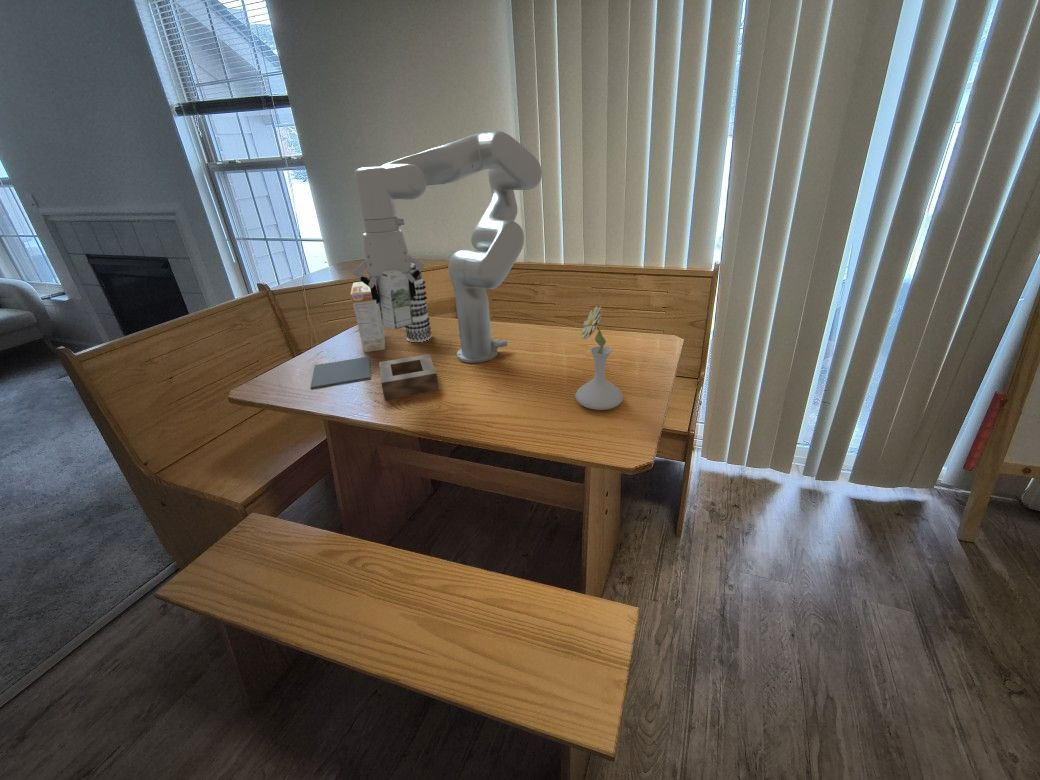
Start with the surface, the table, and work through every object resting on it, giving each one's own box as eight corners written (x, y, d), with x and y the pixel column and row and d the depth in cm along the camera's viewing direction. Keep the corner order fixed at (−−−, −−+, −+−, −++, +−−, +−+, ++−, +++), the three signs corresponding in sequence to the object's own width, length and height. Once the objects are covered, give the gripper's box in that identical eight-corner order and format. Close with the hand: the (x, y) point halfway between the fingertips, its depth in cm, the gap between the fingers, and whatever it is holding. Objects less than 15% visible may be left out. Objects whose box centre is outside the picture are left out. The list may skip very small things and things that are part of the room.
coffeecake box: (364, 337, 158) (352, 282, 149) (385, 334, 160) (374, 280, 151) (362, 352, 146) (349, 293, 137) (385, 349, 147) (373, 290, 138)
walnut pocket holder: (431, 369, 131) (429, 354, 129) (439, 390, 119) (436, 373, 117) (382, 378, 127) (378, 362, 125) (384, 400, 116) (381, 382, 113)
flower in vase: (581, 389, 116) (583, 293, 104) (626, 395, 112) (633, 296, 101) (567, 413, 105) (568, 310, 94) (616, 421, 101) (623, 314, 90)
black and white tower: (434, 341, 152) (423, 266, 140) (406, 344, 150) (393, 269, 139) (432, 332, 160) (422, 260, 148) (405, 335, 158) (393, 263, 146)
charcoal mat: (369, 358, 141) (369, 356, 141) (371, 378, 128) (370, 376, 127) (315, 366, 137) (314, 365, 137) (310, 389, 123) (310, 387, 123)
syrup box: (400, 320, 119) (392, 264, 113) (414, 324, 116) (407, 267, 109) (381, 325, 115) (372, 268, 109) (395, 330, 112) (387, 271, 105)
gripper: (417, 220, 110) (427, 291, 118) (342, 227, 105) (358, 300, 114) (421, 224, 103) (431, 298, 112) (341, 231, 99) (359, 308, 107)
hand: (394, 299), depth 112 cm, fingers closed on syrup box, 8 cm apart
